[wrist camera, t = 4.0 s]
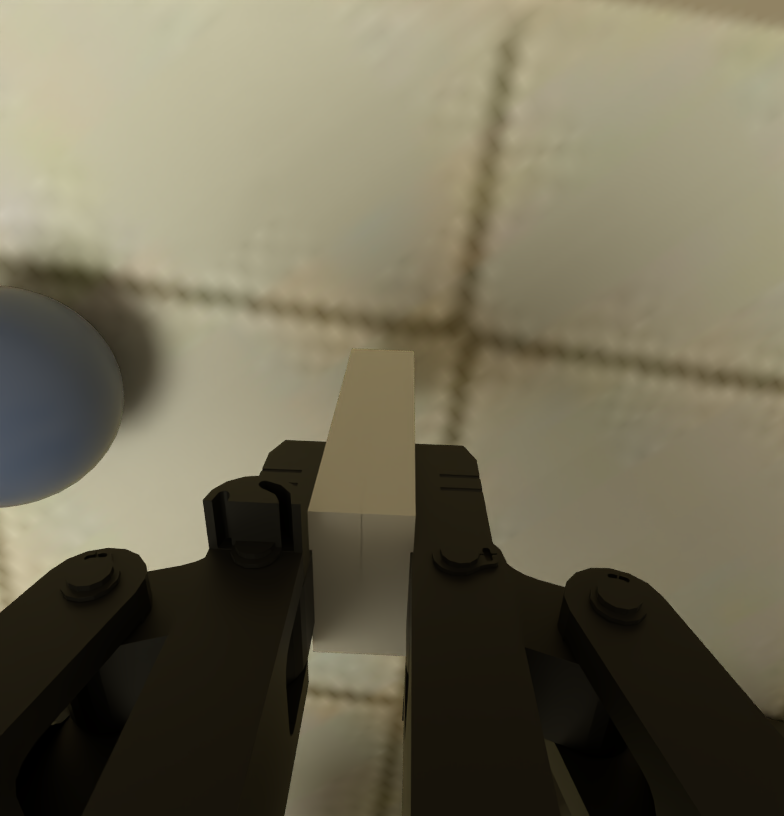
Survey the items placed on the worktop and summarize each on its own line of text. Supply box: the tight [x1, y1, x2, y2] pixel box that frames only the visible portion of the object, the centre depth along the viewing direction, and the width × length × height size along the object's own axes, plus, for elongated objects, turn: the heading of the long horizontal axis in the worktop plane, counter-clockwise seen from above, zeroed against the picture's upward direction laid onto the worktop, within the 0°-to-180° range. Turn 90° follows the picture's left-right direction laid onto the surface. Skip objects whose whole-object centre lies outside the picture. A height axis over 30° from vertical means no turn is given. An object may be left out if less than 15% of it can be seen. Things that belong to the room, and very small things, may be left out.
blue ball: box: [0, 286, 124, 508], centre depth 14 cm, size 6×6×6 cm
